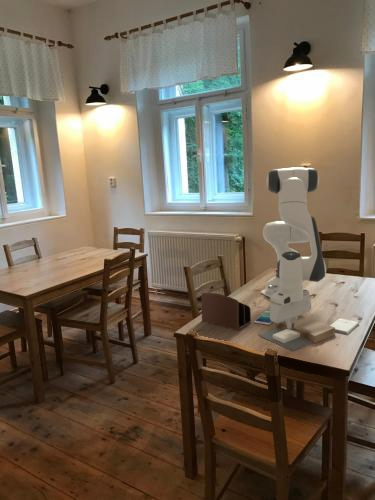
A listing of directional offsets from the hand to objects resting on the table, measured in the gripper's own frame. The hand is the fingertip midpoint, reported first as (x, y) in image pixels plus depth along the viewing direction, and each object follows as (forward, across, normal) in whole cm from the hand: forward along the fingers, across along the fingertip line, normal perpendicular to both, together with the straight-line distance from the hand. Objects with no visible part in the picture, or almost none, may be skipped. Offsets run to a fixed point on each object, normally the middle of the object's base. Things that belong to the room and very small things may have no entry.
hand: (291, 327), depth 161 cm
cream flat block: (+4, +3, 0) cm, 4 cm away
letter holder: (+4, +9, -29) cm, 31 cm away
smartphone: (+4, -7, -20) cm, 22 cm away
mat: (+4, +4, 0) cm, 5 cm away
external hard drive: (+5, -23, +8) cm, 24 cm away
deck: (+4, -8, 0) cm, 9 cm away
